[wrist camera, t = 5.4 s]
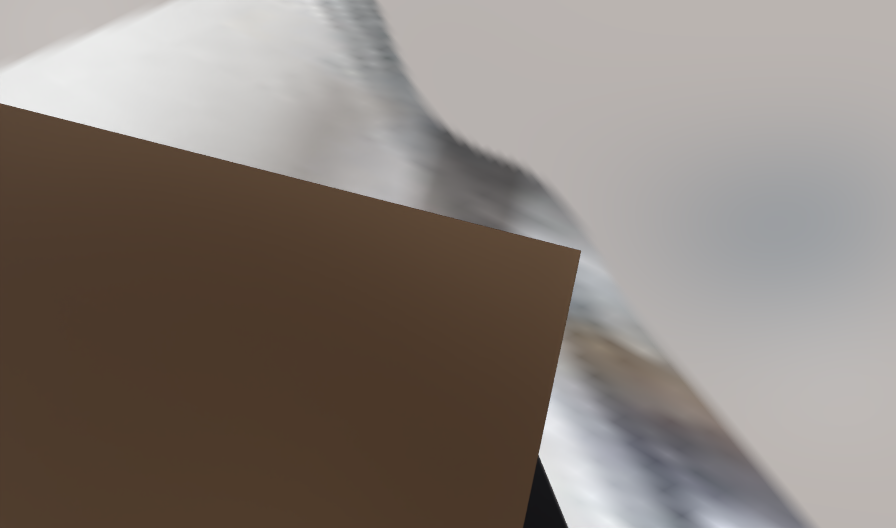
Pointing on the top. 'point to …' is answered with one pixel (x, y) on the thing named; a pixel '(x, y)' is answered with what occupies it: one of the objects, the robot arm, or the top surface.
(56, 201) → the walnut block
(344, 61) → the top surface
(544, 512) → the robot arm
